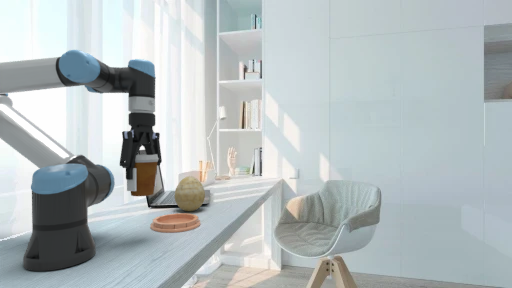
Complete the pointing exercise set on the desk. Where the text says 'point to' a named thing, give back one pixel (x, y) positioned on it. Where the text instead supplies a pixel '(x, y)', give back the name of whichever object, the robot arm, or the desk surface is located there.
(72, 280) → the desk surface
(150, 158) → the disposable coffee cup
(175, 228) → the terracotta plant saucer
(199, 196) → the fossilized egg
